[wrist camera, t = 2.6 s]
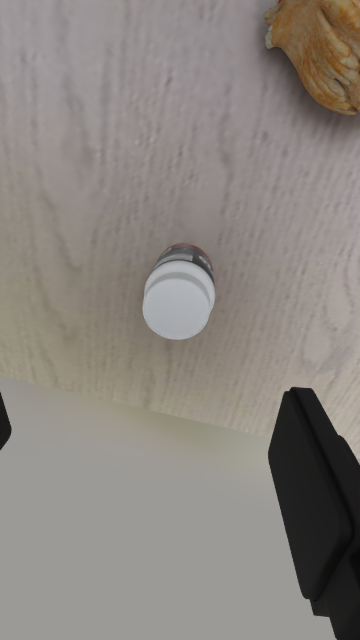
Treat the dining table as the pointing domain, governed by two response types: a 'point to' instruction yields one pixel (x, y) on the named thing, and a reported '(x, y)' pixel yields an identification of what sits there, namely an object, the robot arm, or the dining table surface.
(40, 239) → the dining table surface
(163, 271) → the pill bottle
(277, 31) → the fossil
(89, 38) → the dining table surface
